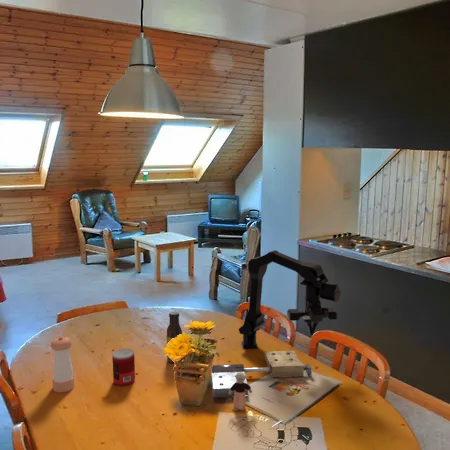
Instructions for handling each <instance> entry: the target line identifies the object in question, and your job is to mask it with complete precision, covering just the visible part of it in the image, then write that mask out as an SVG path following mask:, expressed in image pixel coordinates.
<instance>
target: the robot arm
mask: <svg viewBox="0 0 450 450" xmlns="http://www.w3.org/2000/svg"><path fill="white" fill-rule="evenodd" d="M272 263H275V264H277V265H280V266H281V267H284V268H286V269H288V270H291V271H294V272H295V273H297V274H298V276H300V277H301V278H303V280H302V281H301V282H300V283H299V284H300V285H302V286H305V288H304V289H305V291H304V292H305V295H304V307H303V308H304V309H303V310H304V311H299V309H298V308H289V309H288V310H287V311H286V316H287V318H288V320H289V321H292V322H294V321H299V320H300V319H302V321H303V322H304V323H306V326H307V330H308V333H309V335H310V336H313V335H314V333H315V330H316V328H317V327H318V325H319V323H322V322H323V321H324V319H326V318H327V319H329V320H338V312H337V311H336V310H335V309H334V308H333V307H322V305H321V303H322V302H321V299H322V300H324V301H325V300H326V301H330V302H335V303H338V302H339V300H340V298H341V292H342V291H341V288H340V287H339V283H337V282H335V283H333V282H329V280H328V278H327V276H326V275H325V273H324V269H323V267H322V266H321V265H320V264H318V263H313V262H308V261H307V262H304V261H301V260H299V259H296V258H294V257H292V256H289V255H286V254H284V253H281V252H279V251H278V250H272V251H269V252H267V253H266V254H264V255H260V256H257V257H253V258H251V259H250V260H249V261H248V262H247V270H248V275H249V276H250V290H249V303H248V305H249V306H248V311H247V313H246V315H245V317H244V321H243V325H241V326H240V327H239V328H238V331H239V334H240V335H242V341H241V342H240V343H241V347H242V349H258V348H259V347H258V346H259V345H258V343H257V332H258V331H259V330H260V329H261V328H262V326H264V324H265V317H266V314H265V313H263V312H262V311H261V303H262V293H263V292H262V290H263V279H264V276H265V274H266V272H267V269H268V265H269V264H272ZM318 279H319V280H318Z"/></svg>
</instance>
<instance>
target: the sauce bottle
mask: <svg viewBox="0 0 450 450" xmlns="http://www.w3.org/2000/svg"><path fill="white" fill-rule="evenodd" d="M168 317H169V325H168V326H167V328H166V344H167V343H168V342H169V341H170V340H171V339H172V338H175V337H177V335H179V334H182V335H183V331H182V327H181V325H180V312H178V311H170V312H169V313H168ZM166 359H167V362H168V363H171V364H174V363H173V361H172V360H171V359H170V358H169V357H168V356H167V355H166Z"/></svg>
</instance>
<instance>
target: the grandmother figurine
mask: <svg viewBox="0 0 450 450" xmlns="http://www.w3.org/2000/svg"><path fill="white" fill-rule="evenodd" d="M245 378H246V374H245V375H244V374H243V373H241V372H240V373H237V374H236V380H237V382H236V383H234V385H233V386H232V387H231V388H230V390H229V392H228V394H229V395H230V394H231V393H232V391H233V390H235V393H234V397H233V407H232V408H231V410H232V412H238V411H239V410H240V411H241V412H243V411H246V410H247V408H246V407H245V406H246V396H245V389H247V390H248V394H249V393H250V394H252V393H253V390H252V387H251V385H249V384H248V383H247V384H246V383H244V380H245ZM246 379H247V378H246Z"/></svg>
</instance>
